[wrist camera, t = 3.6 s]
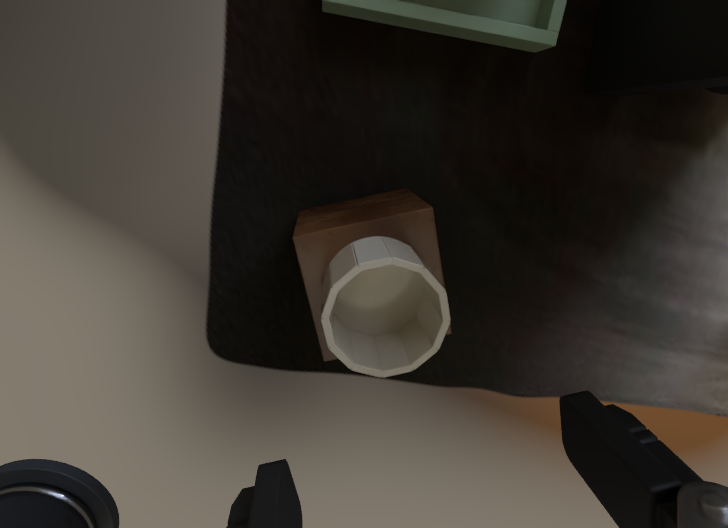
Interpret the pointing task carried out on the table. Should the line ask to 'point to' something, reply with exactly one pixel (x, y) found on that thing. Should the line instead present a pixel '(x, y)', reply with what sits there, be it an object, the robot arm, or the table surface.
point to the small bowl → (382, 307)
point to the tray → (466, 18)
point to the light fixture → (659, 47)
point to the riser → (357, 221)
